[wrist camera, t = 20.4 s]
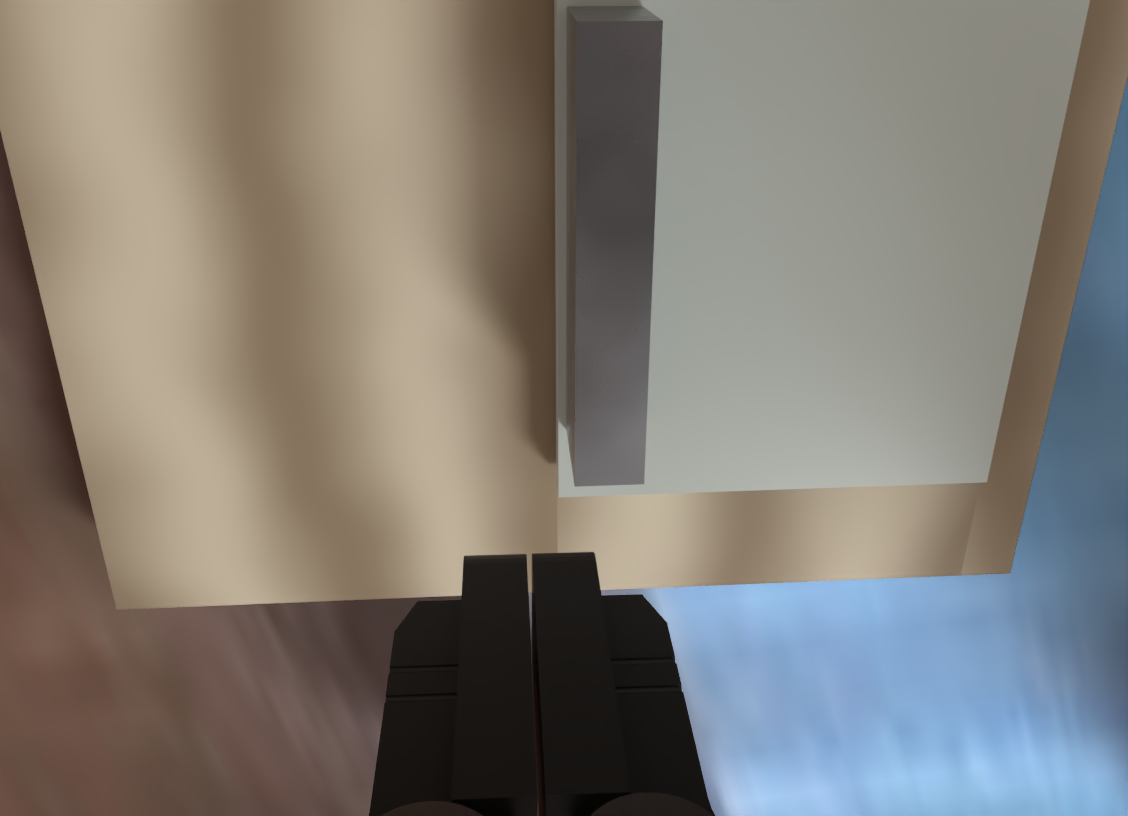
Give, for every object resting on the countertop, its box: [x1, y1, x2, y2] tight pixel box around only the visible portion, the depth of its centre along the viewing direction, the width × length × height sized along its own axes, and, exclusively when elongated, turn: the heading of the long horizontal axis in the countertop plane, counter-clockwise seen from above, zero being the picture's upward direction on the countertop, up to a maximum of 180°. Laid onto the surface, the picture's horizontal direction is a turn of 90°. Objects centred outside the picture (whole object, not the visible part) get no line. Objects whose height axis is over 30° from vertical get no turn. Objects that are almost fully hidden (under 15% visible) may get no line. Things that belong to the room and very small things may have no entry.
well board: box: [0, 0, 1128, 610], centre depth 26 cm, size 26×22×2 cm
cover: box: [554, 0, 1090, 497], centre depth 23 cm, size 12×14×4 cm
